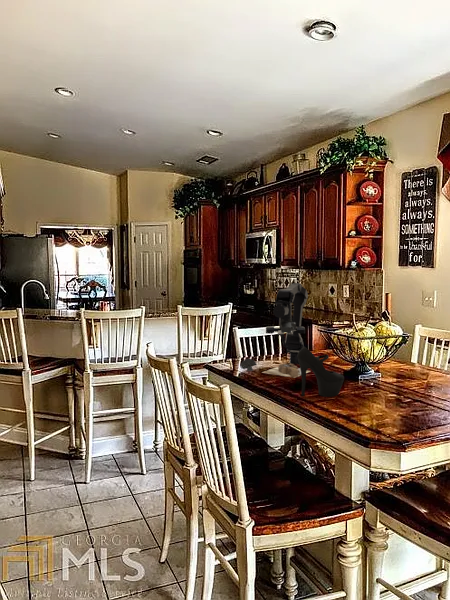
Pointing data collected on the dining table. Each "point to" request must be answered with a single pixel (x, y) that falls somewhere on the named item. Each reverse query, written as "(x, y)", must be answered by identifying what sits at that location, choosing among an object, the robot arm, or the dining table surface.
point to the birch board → (276, 372)
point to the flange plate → (288, 370)
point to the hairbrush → (248, 364)
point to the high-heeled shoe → (319, 373)
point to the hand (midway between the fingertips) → (285, 347)
